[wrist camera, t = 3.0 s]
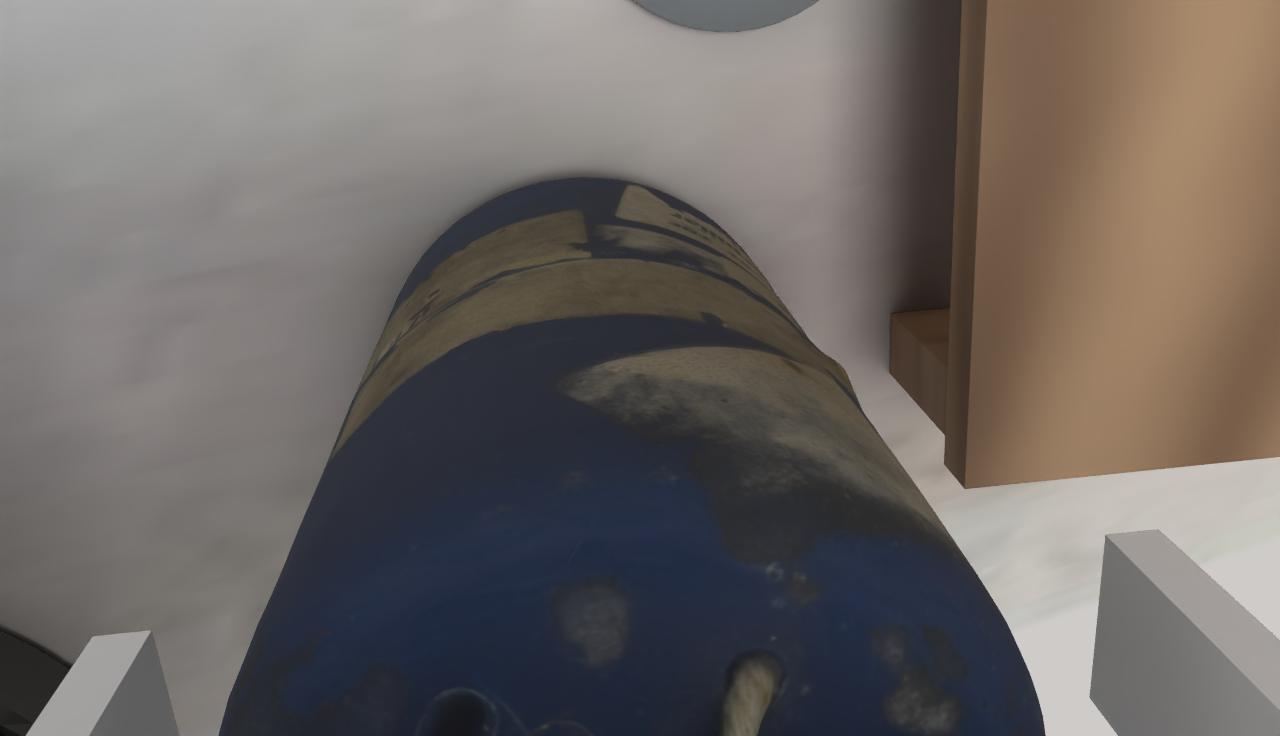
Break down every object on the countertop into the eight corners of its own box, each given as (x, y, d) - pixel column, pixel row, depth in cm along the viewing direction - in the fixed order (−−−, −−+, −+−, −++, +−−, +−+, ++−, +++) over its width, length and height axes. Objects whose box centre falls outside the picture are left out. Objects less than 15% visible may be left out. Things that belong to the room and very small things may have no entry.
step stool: (878, 384, 28) (964, 488, 22) (885, -175, 23) (997, -220, 18) (1357, 339, 29) (1556, 428, 23) (1455, -210, 24) (1732, -263, 19)
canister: (847, 302, 27) (1361, 846, 10) (634, 585, 29) (771, 1410, 13) (522, 83, 25) (500, 330, 8) (316, 410, 27) (-48, 1154, 10)
